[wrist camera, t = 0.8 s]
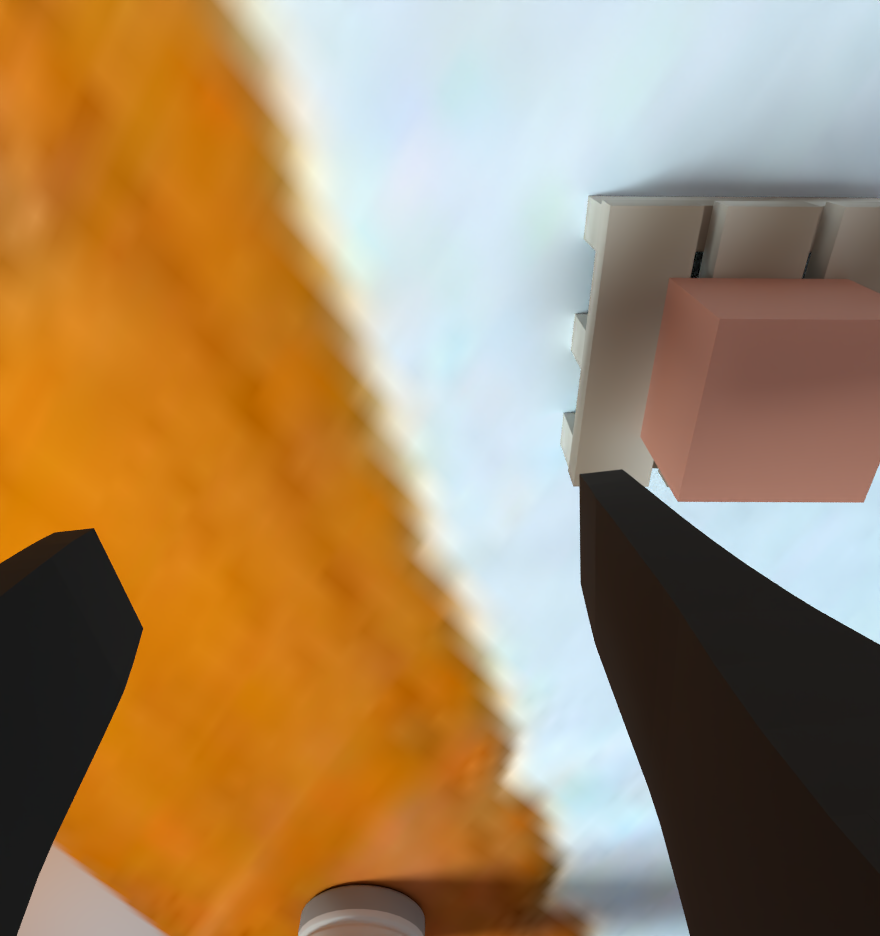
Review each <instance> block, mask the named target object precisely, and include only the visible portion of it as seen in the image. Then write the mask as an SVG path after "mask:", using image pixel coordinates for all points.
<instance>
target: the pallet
mask: <svg viewBox="0 0 880 936" xmlns="http://www.w3.org/2000/svg"><path fill="white" fill-rule="evenodd" d="M584 240H585V241H586V242H587V243H588V244H589V245H590V246H591V247H592V248H593V249H594V250H595V251H596V252H595V260H594V268H593V276H592V284H591V292H590V300H589V308H588V314H575V318H574V326H573V335H572V344H571V351H572V353H573V355H574V357H575V359H576V361H577V363H578V365H579V367H580V369H581V373H580V381H579V389H578V397H577V405H576V413H564V414H563V423H562V431H561V440H560V445H561V448H562V450H563V453H564V456H565V459H566V462H567V465H568V468H569V469H568V472H569V475H570V478H571V481H572V483H573V486H580V479H579V474H584V473H593V472H602V471H611V470H620V469H623V470H624V471H625V472H627V473H628V474H629V475H630V476H632V477H633V478H634V479H635V480H637V481H638V482H639V483H640V484H641V485H643V486H644V487H648V486H649V481H650V476H651V471H652V468H658V467H657V465H656V463H655V461H654V460H653V458H652V456H651V455H650V453H649V451H648V449H647V448H646V446H645V444H644V442H643V441H642V439H641V437H640V435H641V429H642V424H643V419H644V413H645V408H646V402H647V397H648V391H649V386H650V381H651V375H652V370H653V364H654V359H655V353H656V348H657V343H658V337H659V332H660V326H661V321H662V315H663V310H664V305H665V299H666V294H667V288H668V283H669V278H690V277H691V272H692V267H693V262H694V257H695V252H704V253H703V257H702V262H701V267H700V272H699V277H698V278H777V279H802V276H803V272H804V269H805V266H806V262H807V259H808V255H809V252H811V256H810V259H809V263H808V266H807V269H806V273H805V276H804V279H849V280H851V281H854V282H856V283H858V284H860V285H862V286H864V287H867V288H869V289H871V290H873V291H875V292H877V293H880V198H849V197H692V196H588V204H587V213H586V221H585V230H584ZM658 472H659V474H660V475H661V477H662V479H663V480H664V482H665V484H666V486H667V487H669V486H668V484H667V482H666V480H665V479H664V477H663V475H662V473H661V472H660V470H658Z"/></svg>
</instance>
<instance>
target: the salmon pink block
mask: <svg viewBox="0 0 880 936" xmlns="http://www.w3.org/2000/svg"><path fill="white" fill-rule="evenodd" d="M640 437H641V439H642V441H643V442H644V444H645V446H646V448H647V449H648V451H649V453H650V455H651V456H652V458H653V460H654V461H655V463H656V465H657V467H658V468H659V470H660V472H661V473H662V475H663V477H664V479H665V480H666V482H667V484H668V486H669V487H670V489H671V491H672V492H673V494H674V496H675V498H676V499H677V501H678V502H864V500H865V498H866V495H867V493H868V490H869V488H870V486H871V483H872V481H873V478H874V476H875V473H876V471H877V468H878V466H879V463H880V293H877V292H875V291H873V290H871V289H869V288H867V287H864V286H862V285H860V284H858V283H856V282H854V281H851V280H849V279H777V278H669V283H668V288H667V294H666V299H665V305H664V310H663V315H662V321H661V326H660V332H659V337H658V343H657V348H656V353H655V359H654V364H653V370H652V375H651V381H650V386H649V391H648V397H647V402H646V408H645V413H644V419H643V424H642V429H641V435H640Z"/></svg>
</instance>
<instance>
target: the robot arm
mask: <svg viewBox="0 0 880 936" xmlns="http://www.w3.org/2000/svg"><path fill="white" fill-rule="evenodd" d="M579 479H580V566H581V586H582V591H583V595H584V599H585V604H586V608H587V612H588V617H589V621H590V625H591V629H592V633H593V637H594V641H595V645H596V647H597V650H598V653H599V656H600V659H601V661H602V664H603V667H604V669H605V672H606V675H607V678H608V680H609V683H610V686H611V689H612V691H613V694H614V697H615V699H616V702H617V705H618V707H619V710H620V713H621V715H622V718H623V721H624V724H625V726H626V729H627V732H628V734H629V737H630V740H631V742H632V745H633V748H634V750H635V753H636V756H637V758H638V761H639V764H640V766H641V769H642V772H643V775H644V777H645V780H646V783H647V785H648V788H649V791H650V794H651V797H652V800H653V803H654V806H655V809H656V812H657V815H658V819H659V822H660V825H661V829H662V832H663V836H664V840H665V843H666V847H667V851H668V854H669V858H670V862H671V865H672V869H673V873H674V877H675V880H676V884H677V888H678V891H679V895H680V899H681V902H682V906H683V910H684V914H685V918H686V922H687V926H688V929H689V933H690V936H880V645H879V644H878V643H876V642H874V641H872V640H870V639H869V638H867V637H865V636H863V635H861V634H860V633H858V632H856V631H854V630H853V629H851V628H849V627H847V626H845V625H844V624H842V623H840V622H838V621H836V620H835V619H833V618H831V617H829V616H828V615H826V614H824V613H822V612H820V611H819V610H817V609H815V608H814V607H812V606H810V605H809V604H807V603H805V602H804V601H802V600H801V599H799V598H797V597H796V596H794V595H792V594H791V593H789V592H788V591H786V590H785V589H783V588H782V587H780V586H779V585H777V584H776V583H774V582H772V581H771V580H769V579H768V578H766V577H765V576H763V575H762V574H760V573H759V572H757V571H756V570H754V569H753V568H751V567H750V566H748V565H747V564H745V563H744V562H742V561H741V560H739V559H738V558H737V557H735V556H734V555H732V554H731V553H730V552H728V551H727V550H725V549H724V548H722V547H721V546H720V545H718V544H717V543H716V542H714V541H713V540H711V539H710V538H709V537H707V536H706V535H705V534H703V533H702V532H701V531H699V530H698V529H697V528H695V527H694V526H693V525H692V524H690V523H689V522H688V521H686V520H685V519H684V518H683V517H681V516H680V515H679V514H677V513H676V512H675V511H674V510H672V509H671V508H670V507H669V506H667V505H666V504H665V503H664V502H662V501H661V500H660V499H659V498H657V497H656V496H655V495H654V494H653V493H651V492H650V491H649V490H648V489H646V488H645V487H644V486H643V485H641V484H640V483H639V482H638V481H637V480H635V479H634V478H633V477H632V476H630V475H629V474H628V473H627V472H625V471H624V470H623V469H620V470H611V471H602V472H593V473H584V474H579ZM142 631H143V627H142V625H141V623H140V621H139V619H138V617H137V615H136V613H135V611H134V609H133V607H132V605H131V603H130V601H129V599H128V597H127V595H126V593H125V591H124V588H123V586H122V584H121V582H120V580H119V578H118V576H117V574H116V572H115V570H114V568H113V566H112V564H111V562H110V560H109V558H108V556H107V554H106V552H105V550H104V548H103V546H102V544H101V542H100V540H99V538H98V536H97V534H96V532H95V530H94V528H92V529H83V530H74V531H65V532H56V533H53V534H51V535H49V536H47V537H45V538H43V539H41V540H39V541H37V542H36V543H34V544H32V545H30V546H29V547H27V548H25V549H23V550H22V551H20V552H18V553H17V554H15V555H13V556H12V557H10V558H9V559H7V560H5V561H4V562H2V563H1V564H0V936H17V933H18V930H19V928H20V925H21V922H22V919H23V916H24V914H25V911H26V908H27V906H28V903H29V900H30V897H31V895H32V892H33V889H34V886H35V884H36V881H37V878H38V876H39V873H40V871H41V869H42V866H43V864H44V862H45V859H46V857H47V855H48V853H49V850H50V848H51V846H52V843H53V841H54V839H55V837H56V835H57V832H58V830H59V828H60V826H61V824H62V822H63V820H64V818H65V816H66V814H67V811H68V809H69V807H70V805H71V803H72V801H73V799H74V797H75V795H76V793H77V790H78V788H79V786H80V784H81V782H82V780H83V778H84V776H85V774H86V772H87V769H88V767H89V765H90V763H91V761H92V759H93V757H94V755H95V753H96V751H97V749H98V746H99V744H100V742H101V740H102V738H103V736H104V734H105V731H106V729H107V727H108V725H109V723H110V721H111V719H112V716H113V714H114V712H115V710H116V708H117V706H118V703H119V701H120V699H121V696H122V694H123V692H124V690H125V687H126V683H127V680H128V677H129V674H130V671H131V668H132V665H133V662H134V659H135V655H136V652H137V648H138V645H139V641H140V638H141V634H142Z"/></svg>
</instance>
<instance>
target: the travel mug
mask: <svg viewBox="0 0 880 936" xmlns="http://www.w3.org/2000/svg"><path fill="white" fill-rule="evenodd" d="M298 936H425V916H424V914H423V912H422V910H421V908H420V907H419V906H418V905H417V903H416V902H414V901H413V900H412V899H410V898H409V897H408V896H406V895H404V894H402V893H400V892H398V891H395V890H392V889H389V888H385V887H380V886H373V885H348V886H341V887H337V888H333V889H330V890H327V891H325V892H323V893H321V894H319V895H317V896H316V897H314V898H312V899H311V900H310V901H309V902H308V903H307V904H306V906H305V907H304V909H303V911H302V914H301V920H300V926H299V932H298Z"/></svg>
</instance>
